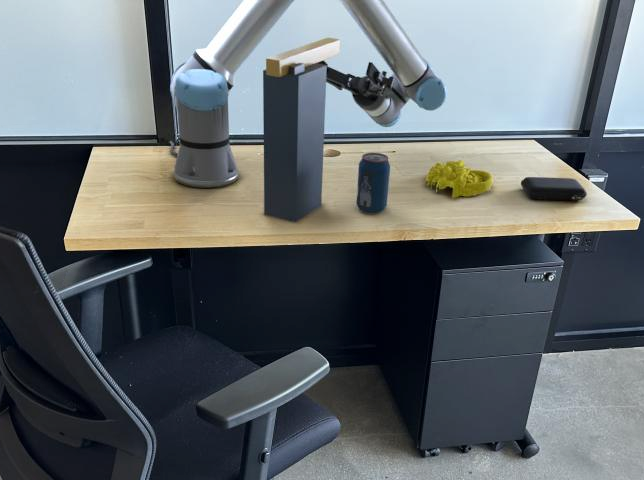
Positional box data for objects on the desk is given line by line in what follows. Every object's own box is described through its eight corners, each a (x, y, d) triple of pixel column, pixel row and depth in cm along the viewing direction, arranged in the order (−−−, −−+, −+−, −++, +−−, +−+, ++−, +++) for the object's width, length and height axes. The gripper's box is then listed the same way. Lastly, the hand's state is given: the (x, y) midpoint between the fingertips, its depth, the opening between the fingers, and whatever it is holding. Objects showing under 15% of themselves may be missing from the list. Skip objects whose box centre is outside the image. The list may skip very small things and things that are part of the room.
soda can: (385, 204, 171) (389, 152, 164) (387, 215, 166) (392, 162, 159) (355, 203, 171) (358, 151, 164) (356, 214, 165) (360, 161, 158)
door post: (290, 197, 172) (292, 51, 154) (321, 204, 169) (327, 57, 151) (264, 214, 163) (262, 61, 145) (295, 222, 160) (298, 68, 142)
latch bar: (327, 52, 162) (327, 37, 160) (339, 54, 161) (340, 39, 159) (266, 74, 143) (265, 58, 141) (279, 77, 142) (279, 60, 140)
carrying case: (528, 202, 176) (589, 204, 177) (531, 190, 175) (592, 192, 176) (517, 186, 185) (575, 188, 186) (520, 174, 183) (578, 176, 184)
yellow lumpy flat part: (502, 192, 182) (505, 175, 179) (447, 200, 175) (450, 183, 173) (463, 170, 193) (465, 154, 191) (411, 177, 187) (413, 160, 185)
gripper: (330, 73, 190) (296, 39, 170) (421, 88, 181) (397, 54, 161) (322, 102, 191) (288, 72, 171) (413, 119, 182) (387, 89, 162)
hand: (341, 63), depth 166 cm, fingers open, 13 cm apart
